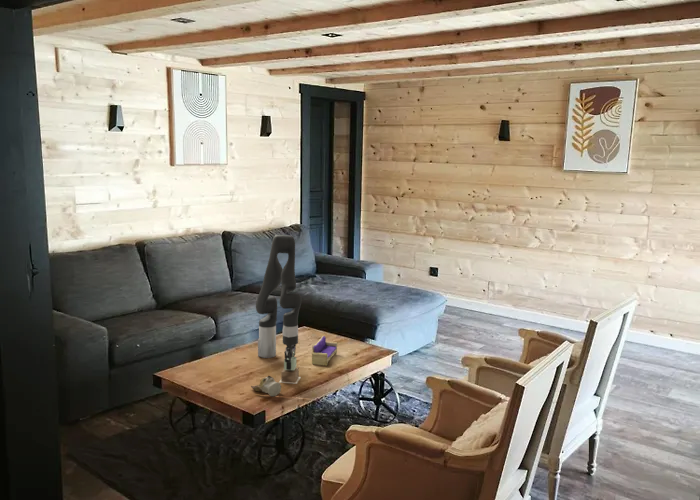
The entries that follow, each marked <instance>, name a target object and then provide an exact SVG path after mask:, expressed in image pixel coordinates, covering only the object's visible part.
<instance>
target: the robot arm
mask: <svg viewBox="0 0 700 500" xmlns="http://www.w3.org/2000/svg"><path fill="white" fill-rule="evenodd" d="M279 254H287V255H288V256H287V260H286V263H285V265H284V266H283V267H282V265H281V263H280V261H279V259H278V255H279ZM295 266H296V240H295V237H294V236H293V235H287V234H275V235H274V237H273V239H272V242H271V247H270V252H269V259H268V261H267V266H266V268H265V273H264V276H263V281H262V284H261V288H260V291H259V293H258V295H257V299H256V302H255V311H256V313H258V314H259V315H265V316H264V317H262V318H261V319H259V322H258V339H257V357H260V358H263V359H271V358H274V357H276V355H277V320H278V319H277V318H278V300H277V298H276V296H273V295H271V294H272V293H273V292H274V291H275V290H277V288H278V287H279V286H280V285H281V292H280V298H279V306H280V308H282V309H285V310H287V309H292V310H290V311H288V312H285V313H283V315H282V316H283V317H282V344H283V345H285V346H286V347H285V350H284V359H285V362H287V364H286V369H287V370H291V359H292V357H296V350H297V349H296V347H297V344H299V325H298V324H299V321H298V320H299V314H300V313H299V312H300V309H301V305H302V302H303V301H302V300H303V298H302V296H301V295H300V294H299V293H289V292H292V291H293V292H294V290H296V288H297V281H296V270H295V269H296V267H295ZM288 359H289V360H288Z"/></svg>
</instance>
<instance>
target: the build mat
mask: <svg viewBox="0 0 700 500" xmlns="http://www.w3.org/2000/svg"><path fill="white" fill-rule="evenodd" d="M300 379H301V376H299V378H298V379H297V381H296V383H292V382H281V379H280V380H279V381H278V382H279V383H280V384H281V383H284V384H295V385H296V384H297V385H298V383H299V381H300Z"/></svg>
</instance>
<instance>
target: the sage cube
mask: <svg viewBox="0 0 700 500" xmlns="http://www.w3.org/2000/svg"><path fill="white" fill-rule="evenodd" d="M288 360H289V359H288ZM286 364H287V362H285V358H284V360H283V369H284V370H287V369H286ZM295 368H297V356H294V357H292V359H291V370H295Z"/></svg>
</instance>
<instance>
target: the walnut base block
mask: <svg viewBox="0 0 700 500" xmlns="http://www.w3.org/2000/svg"><path fill="white" fill-rule="evenodd" d="M280 373H281V374H280V375H281V377H280V380H281V382H292V383H291V384H294V383H296V381H297V379H298V378H299V377H300V375H299V374H300V369H299V367H296V368H295V370H284V368H283V369H282V370H281V372H280ZM281 382H280V383H281Z"/></svg>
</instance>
